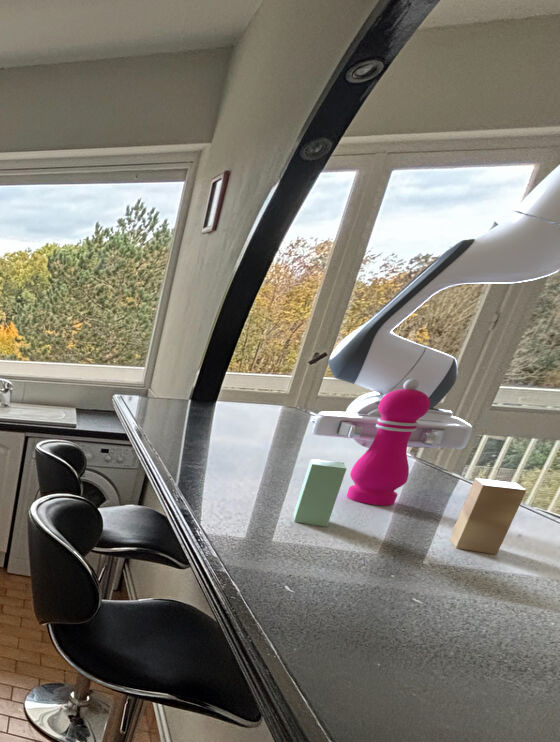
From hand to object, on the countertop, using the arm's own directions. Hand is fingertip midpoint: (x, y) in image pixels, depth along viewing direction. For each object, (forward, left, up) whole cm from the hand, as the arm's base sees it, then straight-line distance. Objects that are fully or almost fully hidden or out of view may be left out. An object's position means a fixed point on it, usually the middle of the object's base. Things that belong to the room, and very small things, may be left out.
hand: (393, 436), depth 96 cm
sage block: (+14, +16, -11) cm, 24 cm away
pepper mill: (0, 0, -11) cm, 11 cm away
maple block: (-4, +21, -11) cm, 24 cm away
